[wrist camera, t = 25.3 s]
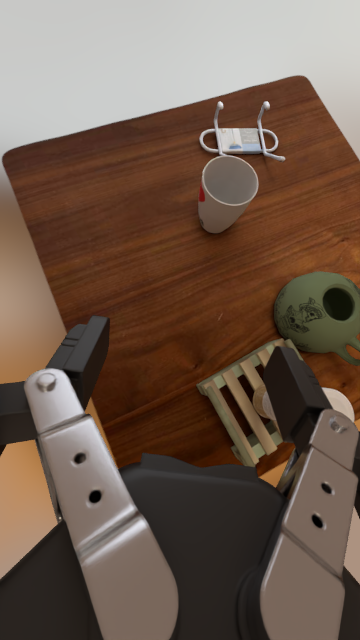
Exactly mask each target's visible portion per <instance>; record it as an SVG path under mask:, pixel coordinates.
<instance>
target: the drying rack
mask: <svg viewBox="0 0 360 640" xmlns="http://www.w3.org/2000/svg"><path fill="white" fill-rule="evenodd" d="M276 346H282V347H288V348H293V349H294V350H295V352H296V353H297V355H298V357H299V359H300V360H303V359H302V357H301V355H300V354H299V352H298V351H297V349H296V347H295V346H294V344H293V342H292V341H291V339H288V340H286V341H284V339H283V338H282V339H278V340H274V341H271V342H268V343H266V344H265V345H263V346H261V347H260V348H258V349H256V350H255V351H253V352H251V353H249V354H248V355H246V356H244V357H243V358H241V359H239V360H238V361H236V362H234V363H233V364H231V365H229V366H227V367H226V368H224V369H222V370H221V371H219V372H217V373H216V374H214V375H212V376H210V377H209V378H207V379H205V380H204V381H202V382H200V383H199V384H197V385H196V386H197V387H198V389H199V391H200V393H201V394H203V395H205V396H208V397H209V399H210V400H211V402H212V404H213V406H214V408H215V409H216V411H217V413H218V415H219V417H220V419H221V420H222V422H223V424H224V426H225V428H226V429H227V431H228V433H229V435H230V437H231V438H232V440H233V442H234V444H235V445H234V446H233V447H231V449H232V451H233V453H234V455H235V457H236V458H237V459H238V460H239V461H240V462H241V463H242V464H243V465H244V466H250V467H255V464H256V463H257V462H259V460H258V458H260V457H261V456H262V455H264V454H267V455H269V454H270V453H272V452H273V451H275V450H276V449H277V447H276V446H277V445H278V444H280V443H281V442H283V439H282V436H281V433H280V430H279V427H278V424H277V421H274V420H272V419H270V420H271V421H270V422H269V423H267V424H266V425H264V424H263V423H262V421H261V419H260V417H259V416H258V414H257V412H256V410H255V409H254V407H253V405H252V403H251V402H250V400H249V398H248V397H247V395H246V393H245V391H244V390H243V388H242V386H241V384H240V383H239V381H238V379H237V378H238V377H239V376H241V375H243V374H244V375H245V376H246V378H247V380H248V382H249V383H250V385H251V387H252V389H253V390H254V392H255V391H256V390H257V389H258V388H259V387H260V386H262V385H265V384H264V383H263V381H262V379H261V378H260V376H259V374H258V372H257V371H256V369H255V367H256V366H258V365H259V364H262V366H263V367H264V369H265V366H266V364H267V362H268V360H269V358H270V356H271V354H272V352H273V350H274V348H275V347H276ZM303 361H304V360H303ZM224 385H227V387H228V388H229V390H230V392H231V394H232V395H233V397H234V399H235V401H236V402H237V404H238V406H239V408H240V410H241V411H242V413H243V415H244V417H245V418H246V420H247V422H248V424H249V425H250V427H251V429H252V431H253V432H254V433H252V434H251V435H249V436H248V437H245V435H244V433H243V432H242V430H241V428H240V426H239V424H238V423H237V421H236V419H235V417H234V415H233V414H232V412H231V410H230V408H229V407H228V405H227V403H226V401H225V399H224V398H223V396H222V394H221V392H220V390H219V389H220V388H221V387H223V386H224ZM285 443H286V442H285Z"/></svg>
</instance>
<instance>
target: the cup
mask: <svg viewBox="0 0 360 640" xmlns="http://www.w3.org/2000/svg"><path fill="white" fill-rule="evenodd" d="M257 190H258V178H257V175H256V173H255V171H254V169H253V168H252V167H251V166H250V165H249V164H248V163H247V162H246V161H244V160H242V159H240V158H238V157H235V156H229V155H225V156H219V157H216V158H214V159H212V160H211V161H209V162H208V164H207V165H206V166H205V168H204V170H203V175H202V180H201V186H200V191H199V206H198V212H199V218H200V223H201V225H202V227H203V228H204V229H205V230H206V231H208V232H210V233H220V232H222V231H224V230H225V229H227V228H228V227H230V226H231V225H232V224H233V223H234V222H235V221H236V220H237V219H238V218H239V217H240V216H241V215H242V213H243V212H244V211H245V209H246V208H247V206H248V205H249V203H250V202H251V200H252V199H253V198H254V196H255V195H256V193H257Z"/></svg>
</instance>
